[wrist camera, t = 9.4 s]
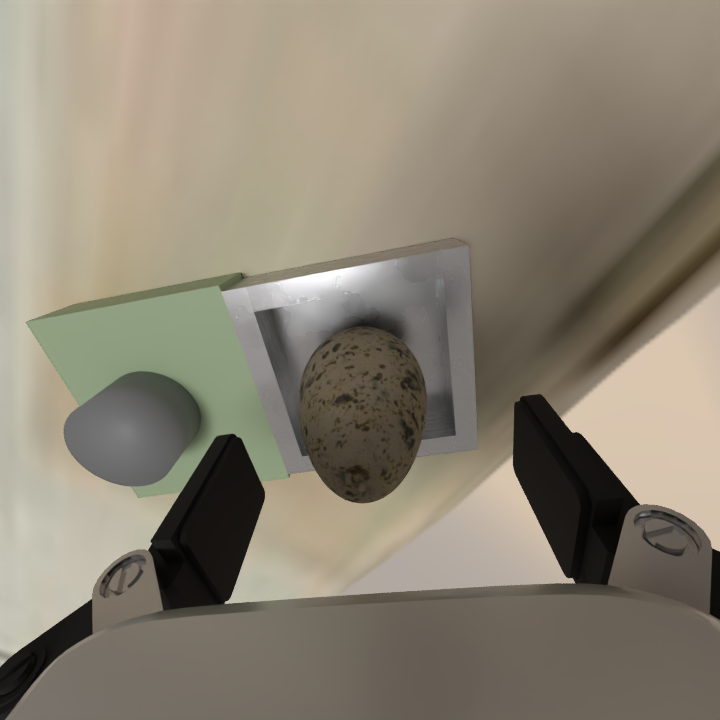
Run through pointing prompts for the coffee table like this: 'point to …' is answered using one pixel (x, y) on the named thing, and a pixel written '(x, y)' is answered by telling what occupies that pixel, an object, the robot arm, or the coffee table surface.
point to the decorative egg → (362, 412)
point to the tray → (364, 309)
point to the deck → (171, 350)
